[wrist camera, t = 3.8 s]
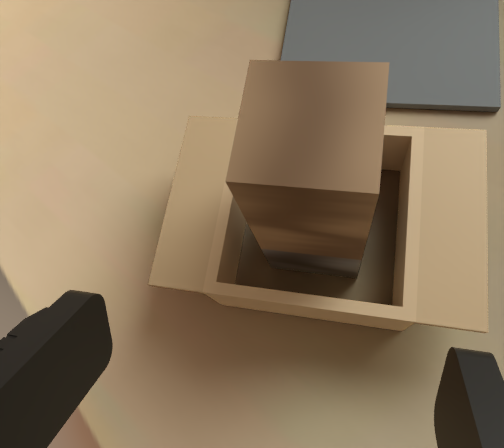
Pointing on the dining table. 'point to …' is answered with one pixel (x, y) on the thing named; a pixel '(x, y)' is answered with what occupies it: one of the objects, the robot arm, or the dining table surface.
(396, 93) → the rubber mat
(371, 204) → the walnut box
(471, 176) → the light wood hollow frame
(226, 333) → the dining table surface
